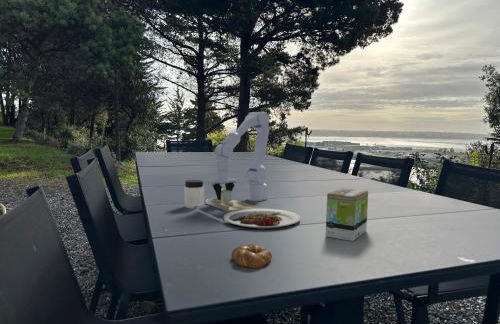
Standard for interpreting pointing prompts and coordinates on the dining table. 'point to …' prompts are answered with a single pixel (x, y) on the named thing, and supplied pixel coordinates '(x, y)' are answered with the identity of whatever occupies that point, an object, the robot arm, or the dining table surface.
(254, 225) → the plated food
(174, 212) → the dining table surface
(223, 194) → the tea tin
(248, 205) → the beige compartment tray
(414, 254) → the dining table surface
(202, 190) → the jar
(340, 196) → the tea box
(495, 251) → the dining table surface
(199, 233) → the dining table surface
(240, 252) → the bagel
